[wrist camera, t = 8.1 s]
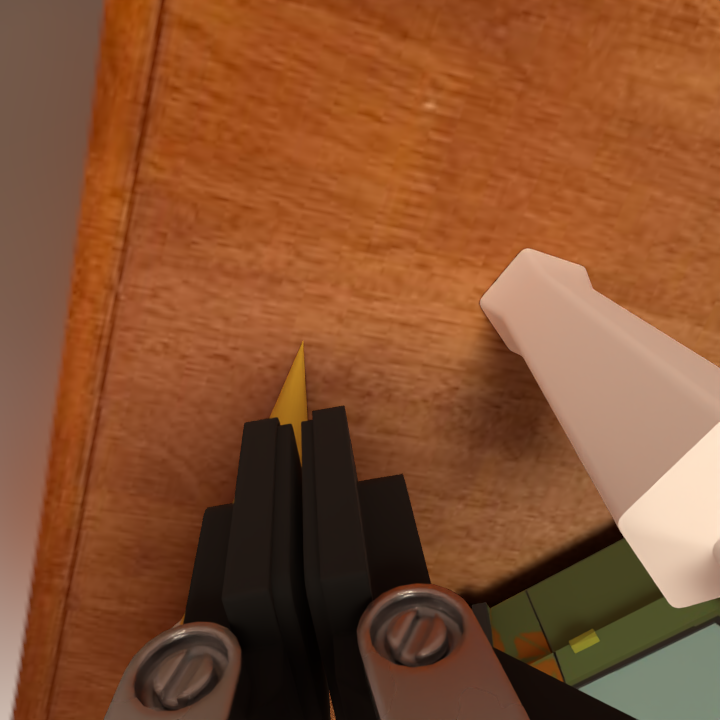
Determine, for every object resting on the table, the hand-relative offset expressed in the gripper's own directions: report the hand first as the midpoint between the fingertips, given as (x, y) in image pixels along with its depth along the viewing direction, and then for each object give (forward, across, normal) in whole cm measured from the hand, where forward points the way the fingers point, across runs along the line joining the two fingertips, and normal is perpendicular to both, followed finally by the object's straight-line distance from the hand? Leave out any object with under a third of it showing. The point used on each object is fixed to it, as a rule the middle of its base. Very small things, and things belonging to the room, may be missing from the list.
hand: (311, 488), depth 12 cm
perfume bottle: (+13, -8, +3) cm, 15 cm away
